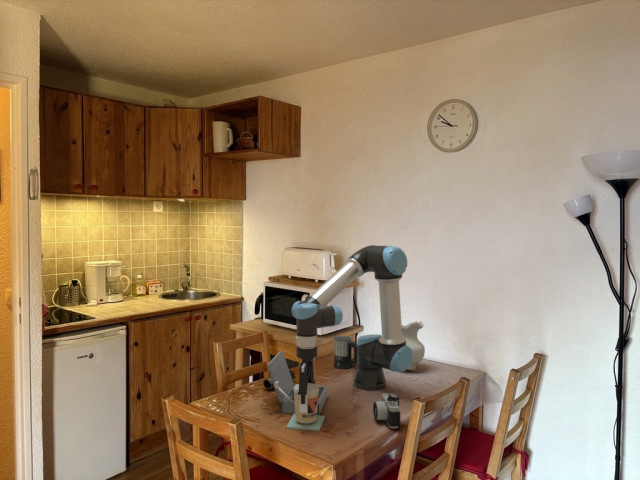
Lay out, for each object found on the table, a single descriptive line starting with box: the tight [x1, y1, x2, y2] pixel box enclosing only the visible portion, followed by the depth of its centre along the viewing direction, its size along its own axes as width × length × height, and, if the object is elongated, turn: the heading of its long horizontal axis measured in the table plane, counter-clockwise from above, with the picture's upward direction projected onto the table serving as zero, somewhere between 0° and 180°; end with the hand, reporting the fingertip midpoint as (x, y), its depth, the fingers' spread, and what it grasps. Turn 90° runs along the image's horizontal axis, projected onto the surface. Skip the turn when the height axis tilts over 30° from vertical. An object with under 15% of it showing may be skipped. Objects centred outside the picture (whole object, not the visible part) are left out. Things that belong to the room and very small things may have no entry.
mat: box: [286, 414, 326, 432], centre depth 174 cm, size 12×12×1 cm
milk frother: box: [333, 335, 357, 369], centre depth 246 cm, size 14×16×15 cm
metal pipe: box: [262, 369, 296, 390], centre depth 215 cm, size 18×7×6 cm, turn 143°
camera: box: [372, 392, 401, 429], centre depth 177 cm, size 16×9×10 cm, turn 5°
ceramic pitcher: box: [401, 321, 426, 371], centre depth 242 cm, size 22×20×25 cm
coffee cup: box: [293, 383, 319, 423], centre depth 174 cm, size 9×9×12 cm
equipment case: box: [266, 350, 328, 416], centre depth 192 cm, size 21×20×19 cm
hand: (306, 406), depth 174 cm, fingers closed on coffee cup, 9 cm apart
